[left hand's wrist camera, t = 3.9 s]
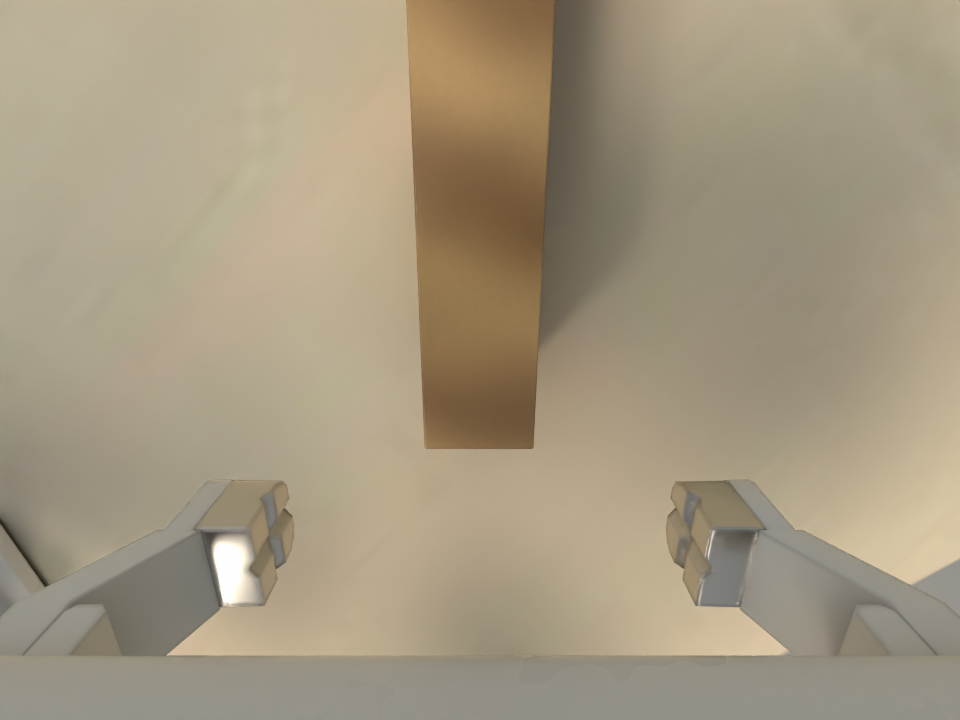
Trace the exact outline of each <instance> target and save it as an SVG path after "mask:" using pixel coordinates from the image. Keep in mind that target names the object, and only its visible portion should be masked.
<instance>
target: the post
mask: <svg viewBox="0 0 960 720" xmlns="http://www.w3.org/2000/svg"><path fill="white" fill-rule="evenodd" d="M555 2H556V0H406V3H407V27H408V52H409V76H410V101H411V125H412V149H413V174H414V198H415V223H416V247H417V271H418V296H419V320H420V344H421V369H422V393H423V418H424V442H425V448H426V449H533V444H534V424H535V404H536V384H537V364H538V344H539V323H540V303H541V283H542V263H543V243H544V223H545V203H546V183H547V163H548V143H549V123H550V103H551V83H552V63H553V43H554V23H555Z"/></svg>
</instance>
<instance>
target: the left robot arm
mask: <svg viewBox="0 0 960 720" xmlns="http://www.w3.org/2000/svg"><path fill="white" fill-rule="evenodd" d="M288 500H289V494H288V489H287V485H286V484H285V483H284V482H283V481H262V480H211V481H208V482H206V483H205V484H204V485H203V486H202V488H201V489H200V490H199V491H198V492H197V493H196V494H195V496H194V497H193V498H192V499H191V500H190V501H189V503H188V504H187V505H186V506H185V507H184V508H183V510H182V511H181V512H180V513H179V514H178V515H177V517H176V518H175V519H174V520H173V521H172V522H171V524H170V525H169V526H168V527H167V528H166V529H165V530H156V531H154V532H153V533H151V534H149V535H147V536H145V537H143V538H141V539H139V540H137V541H135V542H133V543H131V544H129V545H127V546H125V547H123V548H121V549H119V550H117V551H115V552H113V553H111V554H109V555H107V556H105V557H103V558H102V559H100V560H98V561H96V562H94V563H92V564H90V565H88V566H86V567H84V568H82V569H80V570H78V571H76V572H74V573H72V574H70V575H68V576H66V577H64V578H62V579H60V580H58V581H56V582H54V583H52V584H51V585H49V586H47V587H45V586H44V585H43V584H42V582H41V581H40V579H39V578H38V576H37V575H36V574H35V572H34V571H33V569H32V568H31V567H30V565H29V564H28V562H27V561H26V559H25V558H24V557H23V555H22V554H21V552H20V551H19V550H18V548H17V547H16V545H15V544H14V543H13V541H12V540H11V538H10V537H9V535H8V534H7V533H6V531H5V530H4V528H3V527H2V526H1V524H0V720H960V616H958V615H957V614H956V613H955V612H954V611H953V610H952V609H951V608H950V607H949V606H948V605H947V604H946V603H944V602H942V601H940V600H938V599H937V598H935V597H933V596H931V595H929V594H927V593H925V592H923V591H921V590H919V589H917V588H915V587H913V586H911V585H909V584H907V583H905V582H903V581H901V580H899V579H897V578H895V577H894V576H892V575H890V574H888V573H886V572H884V571H882V570H880V569H878V568H876V567H874V566H872V565H870V564H868V563H866V562H864V561H862V560H860V559H858V558H856V557H854V556H852V555H850V554H849V553H847V552H845V551H843V550H841V549H839V548H837V547H835V546H833V545H831V544H829V543H827V542H825V541H823V540H821V539H819V538H817V537H815V536H813V535H811V534H809V533H807V532H806V531H804V530H795V529H794V528H793V527H792V526H791V525H790V524H789V522H788V521H787V520H786V519H785V518H784V517H783V515H782V514H781V513H780V512H779V511H778V510H777V508H776V507H775V506H774V505H773V504H772V503H771V502H770V500H769V499H768V498H767V497H766V496H765V495H764V493H763V492H762V491H761V490H760V489H759V488H758V486H757V485H756V484H755V483H754V482H752V481H750V480H724V481H679V482H675V484H674V486H673V488H672V494H671V500H672V501H673V503H674V505H675V507H676V508H675V509H674V510H673V511H672V512H671V513H670V514H669V515H668V518H667V526H666V534H667V544H668V547H669V551H670V554H671V556H672V558H673V560H674V562H675V563H676V564H678V565H679V566H680V567H682V568H683V569H684V574H683V581H684V583H685V585H686V587H687V589H688V591H689V593H690V595H691V597H692V599H693V601H694V603H695V605H696V606H717V607H740V610H742V611H743V612H744V613H745V614H746V615H747V616H749V617H750V618H751V619H752V620H753V621H755V622H756V623H757V624H758V625H759V626H760V627H762V628H763V629H764V630H765V631H766V632H767V633H769V634H770V635H771V636H772V637H773V638H775V639H776V640H777V641H778V642H779V643H780V644H782V645H783V646H784V647H785V648H786V649H787V650H789V651H790V652H791V653H792V654H793V655H795V656H166V655H167V654H168V653H169V652H170V651H171V650H173V649H174V648H175V647H176V646H177V645H179V644H180V643H181V642H182V641H183V640H184V639H186V638H187V637H188V636H189V635H190V634H192V633H193V632H194V631H195V630H196V629H197V628H199V627H200V626H201V625H202V624H203V623H205V622H206V621H207V620H208V619H209V618H210V617H212V616H213V615H214V614H215V613H216V612H217V611H219V610H220V608H219V607H242V606H265V603H266V601H267V599H268V597H269V595H270V593H271V591H272V589H273V587H274V585H275V583H276V581H277V574H276V569H277V568H278V567H280V566H281V565H282V564H284V563H285V562H286V560H287V558H288V556H289V554H290V552H291V547H292V542H293V538H294V524H293V518H292V515H291V514H290V513H289V512H288V511H287V510H286V509H285V508H284V507H285V505H286V503H287V501H288Z"/></svg>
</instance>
